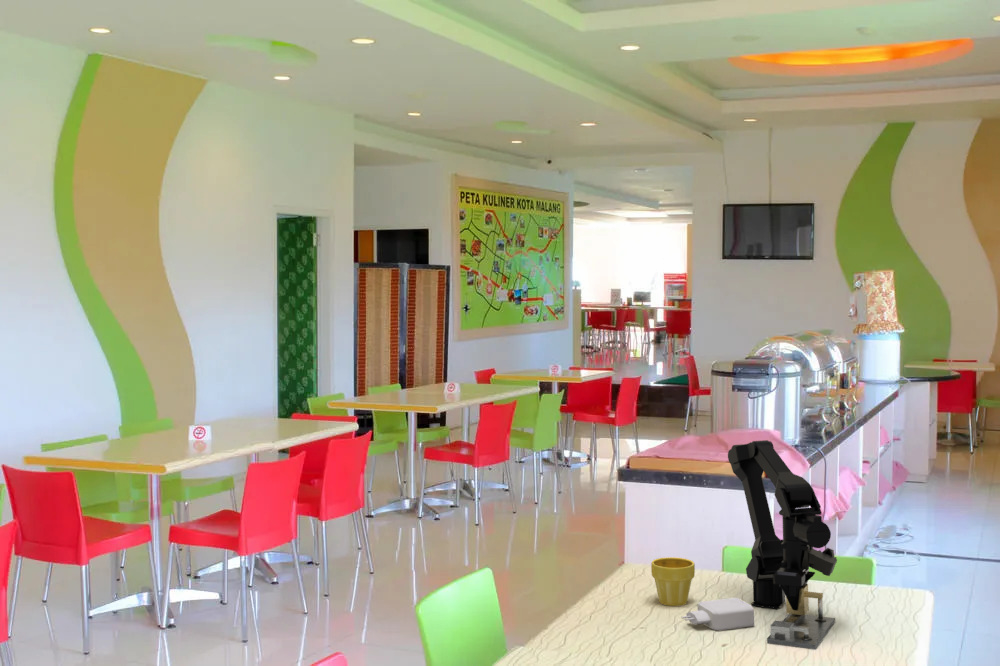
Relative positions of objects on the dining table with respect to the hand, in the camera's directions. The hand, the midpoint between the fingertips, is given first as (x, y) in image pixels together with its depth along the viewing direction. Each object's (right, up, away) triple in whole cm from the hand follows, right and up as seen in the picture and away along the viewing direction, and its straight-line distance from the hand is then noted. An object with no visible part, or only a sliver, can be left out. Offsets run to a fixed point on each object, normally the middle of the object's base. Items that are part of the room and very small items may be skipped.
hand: (797, 607), depth 237 cm
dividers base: (-1, -4, -7) cm, 8 cm away
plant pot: (-25, -4, +18) cm, 31 cm away
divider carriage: (+2, -2, -1) cm, 3 cm away
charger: (-19, -4, 0) cm, 19 cm away
